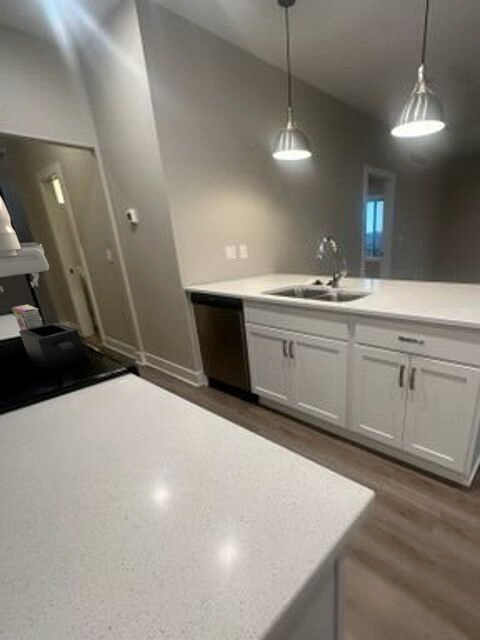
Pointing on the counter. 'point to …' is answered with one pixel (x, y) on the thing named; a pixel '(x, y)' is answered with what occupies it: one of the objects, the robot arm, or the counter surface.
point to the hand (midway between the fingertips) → (18, 289)
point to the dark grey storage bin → (53, 347)
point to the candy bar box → (27, 317)
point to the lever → (64, 345)
